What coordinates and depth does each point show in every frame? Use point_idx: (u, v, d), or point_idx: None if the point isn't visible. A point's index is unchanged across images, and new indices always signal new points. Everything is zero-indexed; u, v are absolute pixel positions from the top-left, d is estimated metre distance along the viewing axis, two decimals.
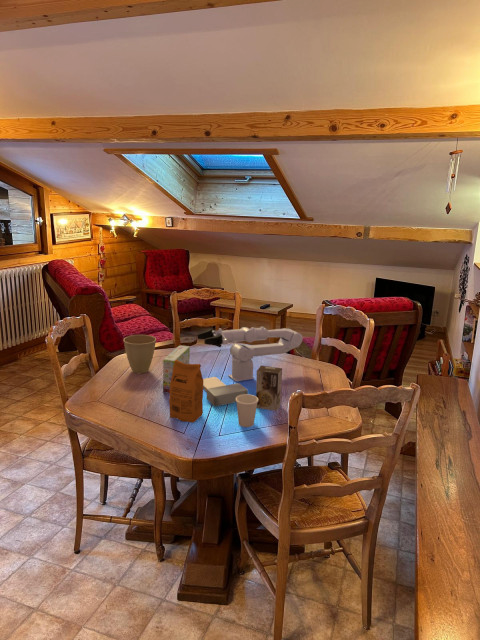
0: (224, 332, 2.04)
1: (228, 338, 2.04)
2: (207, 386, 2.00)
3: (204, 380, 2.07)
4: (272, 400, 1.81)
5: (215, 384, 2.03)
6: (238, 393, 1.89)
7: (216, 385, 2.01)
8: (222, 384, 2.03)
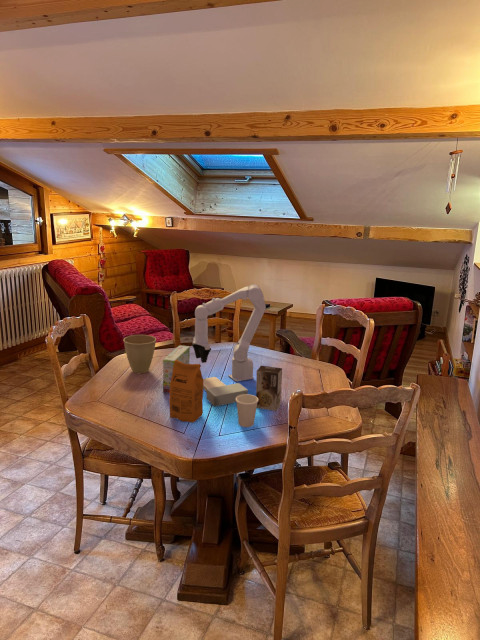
0: (197, 339, 2.08)
1: (203, 337, 2.07)
2: (207, 386, 2.00)
3: (204, 380, 2.07)
4: (272, 400, 1.81)
5: (215, 384, 2.03)
6: (238, 393, 1.89)
7: (216, 385, 2.01)
8: (222, 384, 2.03)
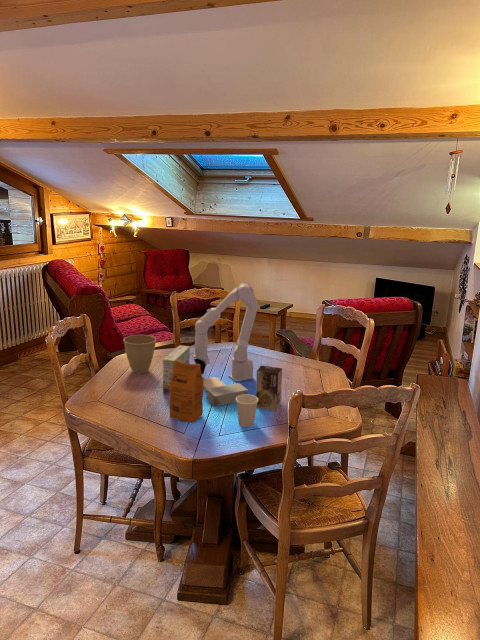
0: (197, 354, 2.09)
1: (203, 351, 2.09)
2: (207, 386, 2.00)
3: (204, 380, 2.07)
4: (272, 400, 1.81)
5: (215, 384, 2.03)
6: (238, 393, 1.89)
7: (216, 385, 2.01)
8: (222, 384, 2.03)
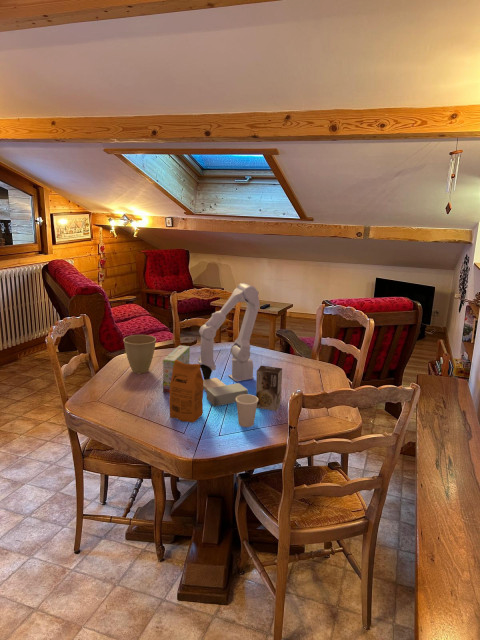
0: (203, 359, 2.04)
1: (209, 357, 2.03)
2: (208, 387, 1.99)
3: (205, 381, 2.05)
4: (272, 400, 1.81)
5: (216, 385, 2.02)
6: (238, 393, 1.89)
7: (217, 386, 2.00)
8: (223, 385, 2.02)
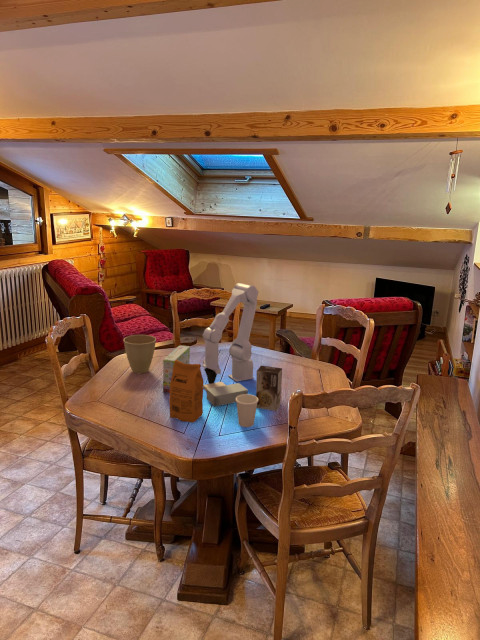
0: (207, 363, 2.00)
1: (213, 361, 1.99)
2: None
3: (210, 385, 2.01)
4: (272, 400, 1.81)
5: None
6: (238, 393, 1.89)
7: None
8: None
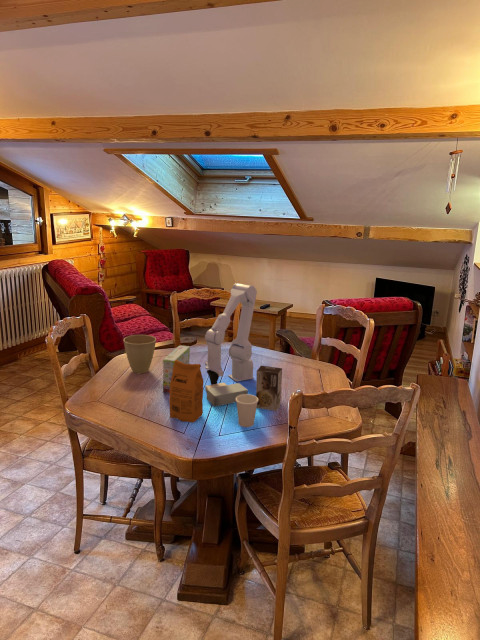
0: (210, 365, 1.98)
1: (216, 363, 1.97)
2: None
3: (212, 386, 1.99)
4: (272, 400, 1.81)
5: None
6: (238, 393, 1.89)
7: None
8: None
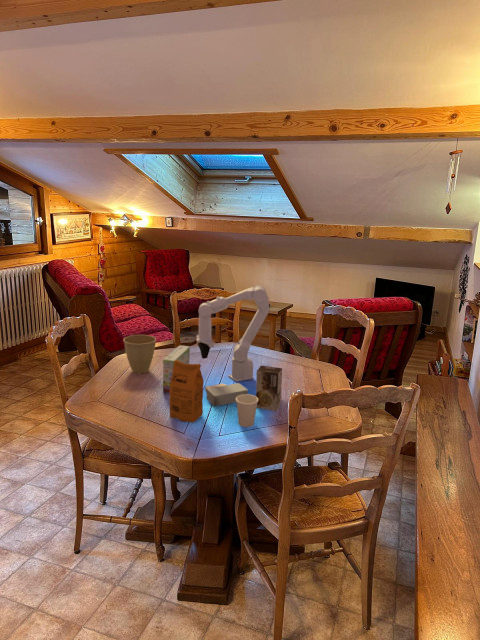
0: (201, 337, 2.07)
1: (207, 335, 2.07)
2: None
3: (212, 387, 1.99)
4: (272, 400, 1.81)
5: None
6: (238, 393, 1.89)
7: None
8: None
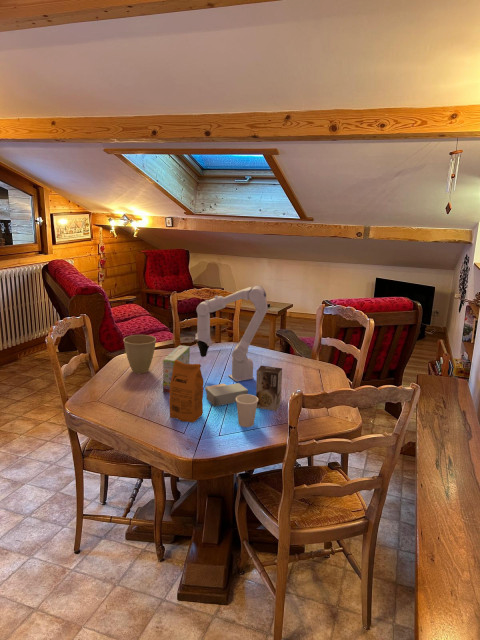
0: (199, 336, 2.10)
1: (205, 333, 2.09)
2: None
3: (212, 387, 1.99)
4: (272, 400, 1.81)
5: None
6: (238, 393, 1.89)
7: None
8: None
